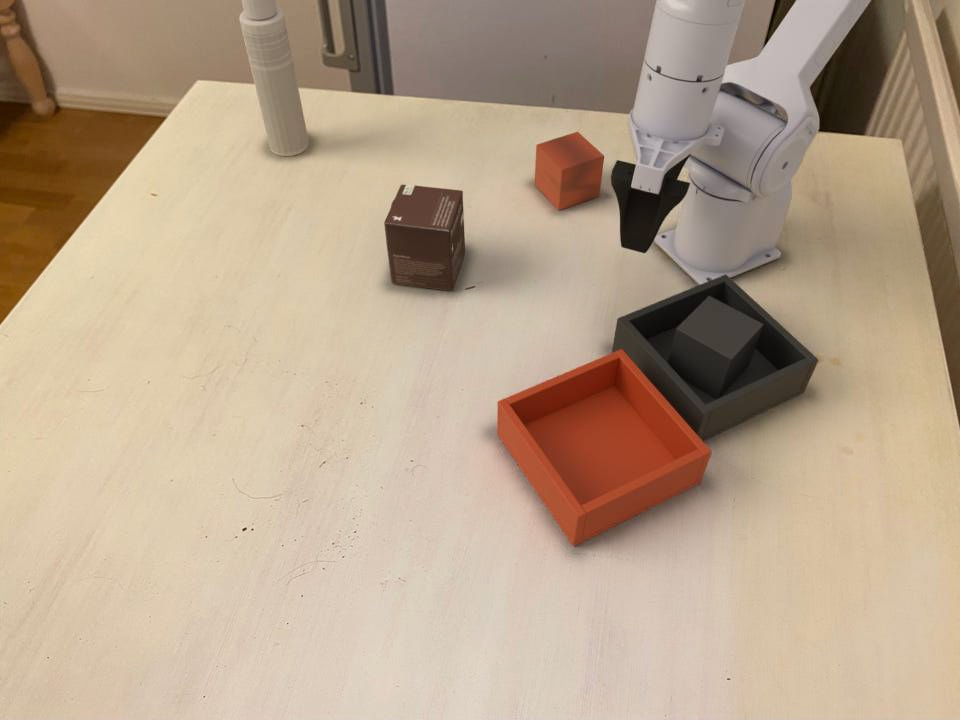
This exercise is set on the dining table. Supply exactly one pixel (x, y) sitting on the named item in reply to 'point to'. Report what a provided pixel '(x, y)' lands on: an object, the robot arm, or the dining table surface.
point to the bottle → (274, 76)
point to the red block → (568, 170)
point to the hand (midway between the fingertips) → (644, 222)
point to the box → (425, 236)
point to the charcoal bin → (760, 387)
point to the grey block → (714, 346)
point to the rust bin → (600, 445)
